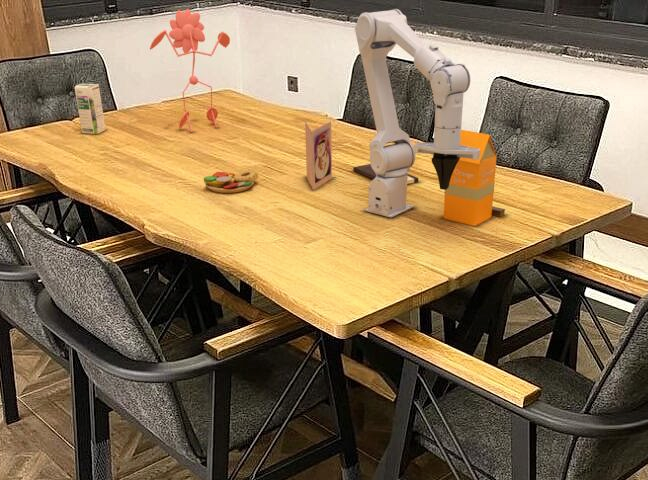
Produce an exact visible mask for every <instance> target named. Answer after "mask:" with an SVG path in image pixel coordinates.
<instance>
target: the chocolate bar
mask: <svg viewBox="0 0 648 480" xmlns="http://www.w3.org/2000/svg"><path fill="white" fill-rule="evenodd" d="M353 172H355V173H358V174H359V175H362V176H364V177H366V178H369V179H371V180H373V179H375V177H376V176H377V174H376V173H375V172H374V170H373V169H372V167H371V164H370V163H369V164H368V163H367V164H363V165H358V166H353ZM418 182H419V177H417V176H414V175H412V174H410V173H409V172H408V173H407V185H408V184H413V183H418Z"/></svg>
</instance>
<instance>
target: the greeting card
mask: <svg viewBox="0 0 648 480" xmlns="http://www.w3.org/2000/svg"><path fill="white" fill-rule="evenodd" d="M304 126H305V127H304V130H305V132H304V133H305V134H304V135H305V161H306V165H305V167H306V179H307V181H308V183H309V184H310V187H311V190H313V191H315V190H316V189H318V188H320V187H321V186H322V185H324V184H325V183H327V182H328V181H330V180H331V179H332V178H333V158H332V155H333V153H332V151H333V150H332V120H330V121H328V122H326V123H324V124H322V125H320V126H319V127H317V128H315V129H313V130H311V128H310V126H309V124H308V123H307V121H306V120H304Z"/></svg>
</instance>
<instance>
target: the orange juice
mask: <svg viewBox="0 0 648 480" xmlns="http://www.w3.org/2000/svg"><path fill="white" fill-rule="evenodd" d="M460 145H463V146H467V147H471V148H477V149H480V158H479V159H477V160H473V159H471V158H462V157H460V159H459V161H458V163H457V165H456V167H455V169H454V171H453V173H452V176H451V179H450V183H449V187H448V188H447V189H446V190H444V200H443V215H442V216H443V219H445V220H449V221H452V222H458V223H461V224H465V225H469V226H474V227H476V226H478V225H479V224H481V223H483V222H485V221H487V220H489V219H490V218H491V219H492V216H493V215H492V206H493V203H494V193H495V183H496V182H495V181H496V169H497V157H498V156H497V154H496V150H495V146H494V144H493V141H492V137H491V134H488V133H482V132H476V131H471V130H465V129H461V138H460Z"/></svg>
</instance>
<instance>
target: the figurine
mask: <svg viewBox="0 0 648 480" xmlns="http://www.w3.org/2000/svg"><path fill="white" fill-rule="evenodd" d="M200 19H201V14H200V13H199V12H193V13H192V12H191V10H190V9H189V8H187V9H185V10H184V11H183V12H182V11H181V10H180V9H179V10H176V12H175V19H170V20H169V25H170V28H171V30H170V31H169V32H168V31H167V29H164V30H162V31H161V32H160V33H158V34H157V35H156V36H155V37H154V38H153V40H152V42H151V44H150V47H149V50H150V51H152V50H153V49H154V48H156V47H157V46H158V45H159V44H160V43H161V42H162V40H164V37H165V36H166V37H167V40H168V41H169V43H170V45H171V47H172V49H173V51H174V52H175V54H176V56H177V58H178V57H183V56H187V55H189V54H193V55H192V68H191V69H192V71H191V76H189V79H188V83H187V85H186V86H185V88H184V89H183V91H182V100H183V101H182V102H183V108H184V109H183V110H184V114H183V115H182V117H181V118H180V120H179V121H175V122H172V123H169V124H168V125H166V126H165V128H167V127H168V126H171V125H173V124H177V123H179V124H178V125H179V126H178V127H179V130H180V129H182V128H183V126H184V125H185V124H186V122H187V124H188V127H189V131H190V133H193V129H192V125H191V122H190V119H189V116H190V111H187V109H186V102H185V91H187V89H188V87H189V85H190V84H191V85H192V86H194V85H195V86H196V85H197V84H198V83H199V84H201V85H204V86H206V87H209V88H210V107H209V108H208V109H207V111H206V115H205V116H206V118H207V120H208V121H209V122H210V123H213V124H214V127H215V128H216V129H217V128H218V125H217V118H218V115H219V113H218V110H217V109H216V107H213V87H212V86H211V85H209V84H206V83H204V82H202V81H200V80H199V79H198V77H197V76H196V75H194V73H195V63H196V54H201V55H204V56H209V57H212V56H213V55H214V53H215V51H216V49H217V47H218V45H219V44H220V45H221V46H222V47H223V48H224V49H226V48H227V47H229V45H230V42H231V38H230V36H229V35H228V34H227V33H226V32H224V31H223V30H222V31H220V32H219V33H218V35H217V41H216V43H215V45H214V47H213V49H212V51H211V53H207V52H203V51H198V49H199V43H204V42H205V41H206V36H205V34H204V32H203V31H204V30H205V25H204V24H203V23H202V22H200ZM171 39H172V40H174V41H172V40H171ZM179 48H182V49H181V50H182V52H183V53H179V52H178V51H177V49H179ZM196 120H199V118H196V119H195V118H194V119H191V121H196ZM231 123H232V125H234V123H233V122H231Z"/></svg>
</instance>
